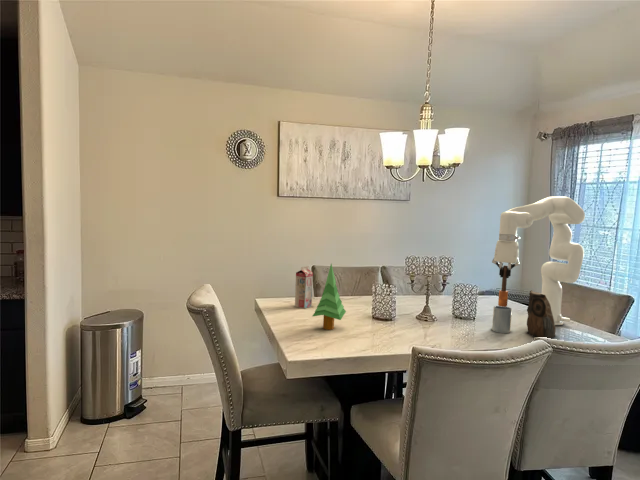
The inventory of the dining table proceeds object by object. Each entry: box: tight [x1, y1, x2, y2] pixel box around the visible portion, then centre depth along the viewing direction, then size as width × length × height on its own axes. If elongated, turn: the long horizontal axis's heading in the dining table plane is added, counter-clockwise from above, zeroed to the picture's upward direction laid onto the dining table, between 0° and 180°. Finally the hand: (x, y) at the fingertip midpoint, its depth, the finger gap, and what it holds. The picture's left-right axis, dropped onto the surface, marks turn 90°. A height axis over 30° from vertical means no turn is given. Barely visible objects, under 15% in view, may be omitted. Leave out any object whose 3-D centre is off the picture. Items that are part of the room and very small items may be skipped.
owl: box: [526, 290, 556, 339], centre depth 207 cm, size 13×13×20 cm
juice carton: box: [294, 265, 314, 309], centre depth 247 cm, size 7×7×22 cm
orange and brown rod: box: [497, 264, 509, 307], centre depth 212 cm, size 4×4×19 cm
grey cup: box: [491, 305, 513, 334], centre depth 213 cm, size 8×8×11 cm
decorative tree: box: [312, 263, 347, 331], centre depth 204 cm, size 14×16×30 cm
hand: (504, 277), depth 212 cm, fingers closed on orange and brown rod, 2 cm apart
